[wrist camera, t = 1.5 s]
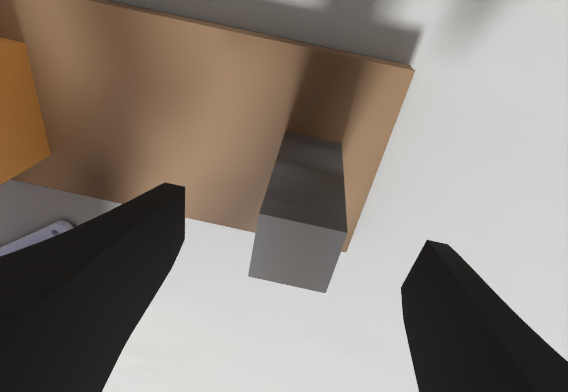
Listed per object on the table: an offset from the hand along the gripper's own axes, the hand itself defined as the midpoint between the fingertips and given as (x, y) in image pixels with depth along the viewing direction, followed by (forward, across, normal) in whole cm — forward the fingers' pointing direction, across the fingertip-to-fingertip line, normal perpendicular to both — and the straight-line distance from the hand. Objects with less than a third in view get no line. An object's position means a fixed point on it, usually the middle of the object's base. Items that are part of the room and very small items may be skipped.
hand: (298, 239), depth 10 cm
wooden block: (+6, +9, 0) cm, 11 cm away
